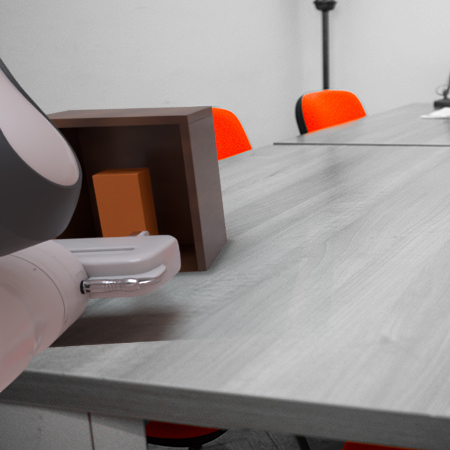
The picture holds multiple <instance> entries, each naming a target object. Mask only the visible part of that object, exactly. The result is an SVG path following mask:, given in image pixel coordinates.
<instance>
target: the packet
mask: <svg viewBox="0 0 450 450" xmlns="http://www.w3.org/2000/svg"><path fill="white" fill-rule="evenodd" d="M92 177H93V183H94V189H95V194H96V200H97V206H98V211H99V217H100V222H101V228H102V234H103V238H106V237H129V235H130V234H132V232H137V231H148V232H149V236H155V235H159V234H158V227H157V220H156V213H155V207H154V200H153V193H152V186H151V180H150V173H149V168H123V169H106V170H104V171H101V172H99V173H97V174H95V175H93V176H92Z"/></svg>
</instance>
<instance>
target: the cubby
mask: <svg viewBox="0 0 450 450" xmlns="http://www.w3.org/2000/svg"><path fill="white" fill-rule="evenodd" d="M213 112H214V111H213V106H212V105H204V106H203V105H201V106H169V107H166V106H165V107H164V106H163V107H135V108H133V107H131V108H99V109H98V108H97V109H67V110H62V111H58V112H52V113H47V114H46V115H47V116H48V118H49V119H50V120H51V121H52V122H53V123H54V125H55V126H56V127H57V128H58V129H59V131H60V132H61V133H62V134H63V136H64V137H65V138H66V140H67V141H68V143H69V144H70V146H71V147H72V149H73V151H74V152H75V154H76V156H77V158H78V161H79V163H80V166H81V170H82V184H81V190H80V195H79V198H78V202H77V205H76V208H75V211H74V213H73V215H72V217H71V220H70V222H69V224H68V226H67V227H66V229H65V230H64V231H63V232H62V233H61V234H60V235H59V236H57V237H56V239H82V238H103V234H102V228H101V222H100V217H99V211H98V206H97V200H96V194H95V189H94V183H93V177H92V176H93V175H95V174H97V173H99V172H101V171H104V170H106V169H123V168H149V173H150V180H151V186H152V193H153V200H154V207H155V213H156V220H157V227H158V234H159V235H170V236H172V237H174V238H176V239H177V242H178V245H179V251H180V260H181V267H180V270H179V271H178V273H177V274H179V273H201V272H207V271H209V269H210V267H211V266H212V264H213V262H214V261H215V259H216V258H217V257H218V255H219V254H220V252H221V251H222V249H223V248H224V247H225V245H226V243H227V242H228V237H227V227H226V220H225V219H226V218H225V211H224V202H223V193H222V185H221V176H220V166H219V158H218V149H217V139H216V132H215V131H216V130H215V123H214V115H213Z"/></svg>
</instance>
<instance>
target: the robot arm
mask: <svg viewBox="0 0 450 450" xmlns="http://www.w3.org/2000/svg"><path fill="white" fill-rule="evenodd" d="M81 184H82V170H81V166H80V163H79V161H78V158H77V156H76V154H75V152H74V151H73V149H72V147H71V146H70V144H69V143H68V141H67V140H66V138H65V137H64V136H63V134H62V133H61V132H60V131H59V129H58V128H57V127H56V126H55V125H54V123H53V122H52V121H51V120H50V119H49V118H48V116H47V114H46V113H45V112H44V111H43V109H42V108H41V107H39V105H38V104H37V103H36V102H35V101H34V99H33V98H32V97H30V95H29V94H28V93H27V92H26V91H25V89H24V88H23V87H22V86H21V84H20V83H19V82H18V81H17V79H16V77H14V75H13V74H12V72H11V71H10V69H9V68H8V67H7V65H6V63H5V62H4V61H3V59H2V58H1V57H0V393H2V392H3V391H4V390H5V389H6V388H7V387H8V386H10V385H11V383H13V382H14V381H15V380H16V379H17V378H18V377H20V375H21V374H23V372H24V371H25V370H26V369H27V368H28V366H29V365H30V363H31V361H32V360H33V357H36V356H37V355H39V354H41V353H42V352H43V351H45V350H46V349H48V348H49V347H50V346H51V345H52V344H54V342H55V341H56V340H58V339H59V338H60V337H61V336H62V335H63V333H65V332H66V331H67V330H68V328H70V327H71V326H72V325H73V324H74V323H75V322H76V321H77V320H78V319H80V317H81V316H82V314H83V313H84V312H85V310H86V308H87V306H88V303H89V300H94V299H95V300H96V299H113V298H115V299H116V298H117V299H118V298H133V297H141V296H145V295H149V294H150V293H153V292H155V291H157V290H158V289H160V288H162V287H163V286H164V285H166V284H167V283H168V282H169V281H171V280H172V278H174V277H175V276H176V275H177V274H179V273H178V271H179V270H180V267H181V260H180V251H179V245H178V242H177V239H176V238H174V237H172V236H170V235H155V236H149V232H148V231H137V232H132V234H130V235H129V237H106V238H82V239H56V237H57V236H59V235H60V234H61V233H62V232H63V231H64V230H65V229H66V227H67V226H68V224H69V222H70V220H71V217H72V215H73V213H74V211H75V208H76V205H77V202H78V198H79V195H80V190H81Z"/></svg>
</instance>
